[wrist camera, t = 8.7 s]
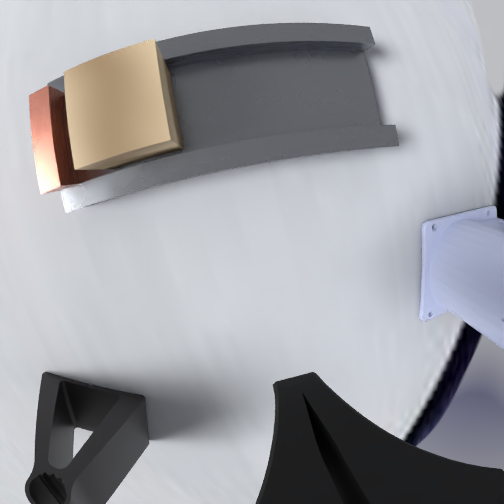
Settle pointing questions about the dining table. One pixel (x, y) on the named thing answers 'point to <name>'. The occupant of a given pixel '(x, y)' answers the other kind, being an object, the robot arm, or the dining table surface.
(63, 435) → the phone stand
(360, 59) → the chute
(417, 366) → the dining table surface
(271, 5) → the dining table surface
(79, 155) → the oak block
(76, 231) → the dining table surface
